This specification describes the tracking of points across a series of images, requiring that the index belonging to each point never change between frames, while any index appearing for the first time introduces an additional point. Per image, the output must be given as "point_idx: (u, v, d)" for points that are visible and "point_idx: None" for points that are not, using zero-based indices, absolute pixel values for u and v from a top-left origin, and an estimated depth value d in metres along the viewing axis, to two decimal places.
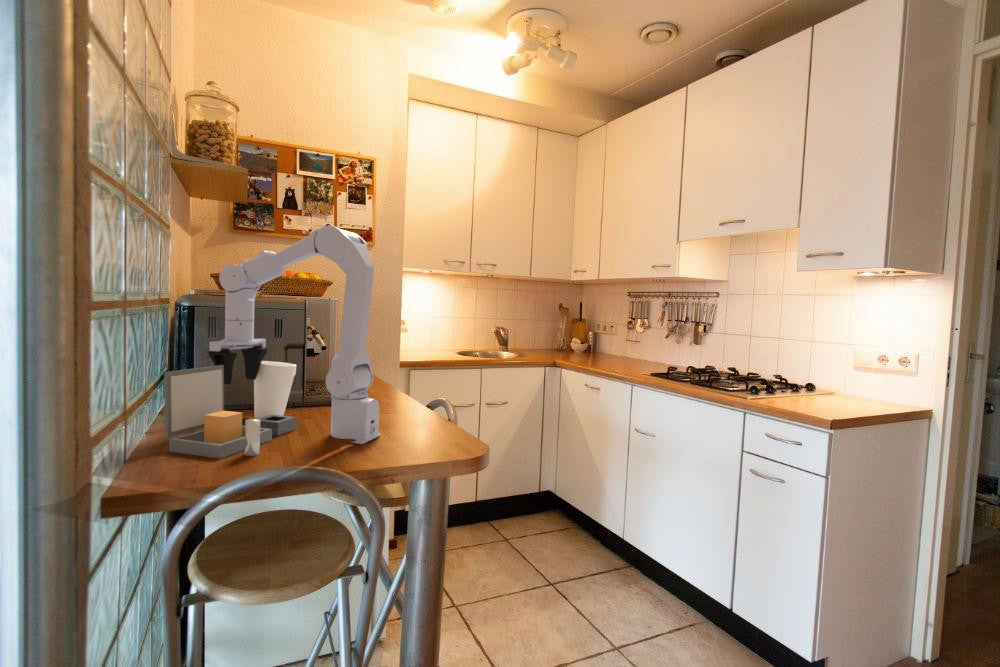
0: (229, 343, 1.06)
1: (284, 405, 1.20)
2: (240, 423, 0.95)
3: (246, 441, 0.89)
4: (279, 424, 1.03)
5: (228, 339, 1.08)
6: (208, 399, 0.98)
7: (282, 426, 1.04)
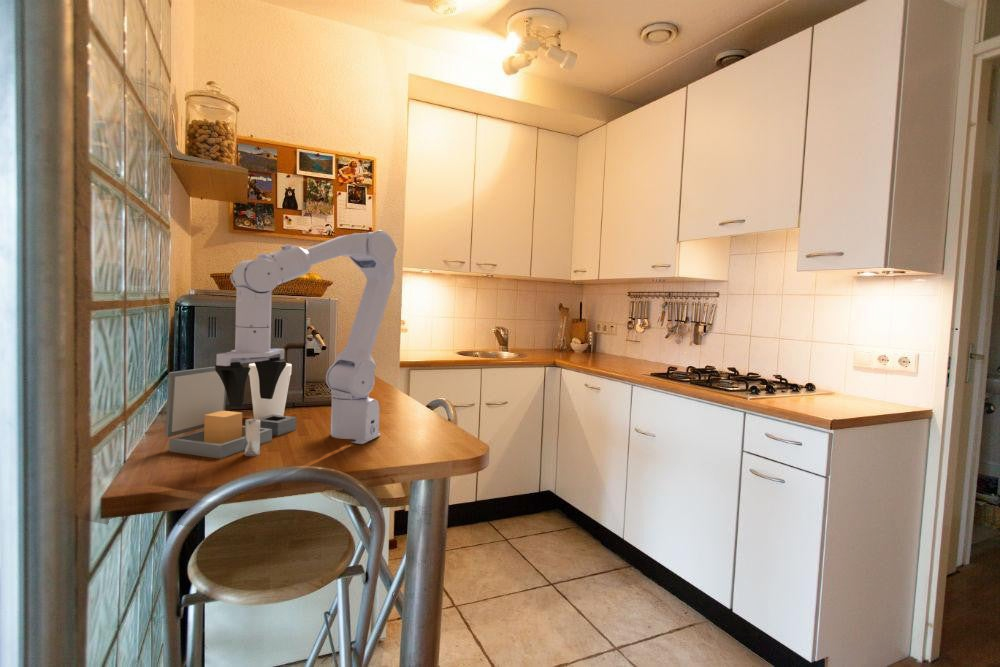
0: (241, 355, 0.86)
1: (283, 405, 1.20)
2: (240, 423, 0.95)
3: (246, 441, 0.89)
4: (279, 424, 1.03)
5: (239, 350, 0.88)
6: (210, 399, 0.97)
7: (282, 426, 1.04)
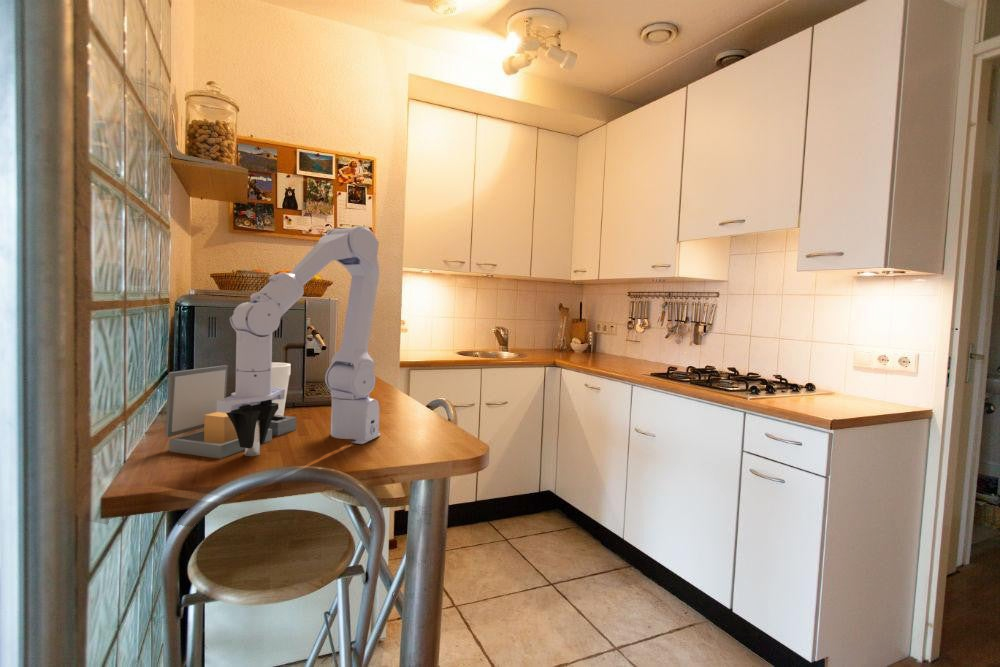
0: (241, 401, 0.85)
1: (282, 405, 1.20)
2: None
3: None
4: (279, 424, 1.03)
5: (240, 394, 0.87)
6: (210, 399, 0.97)
7: (282, 426, 1.04)
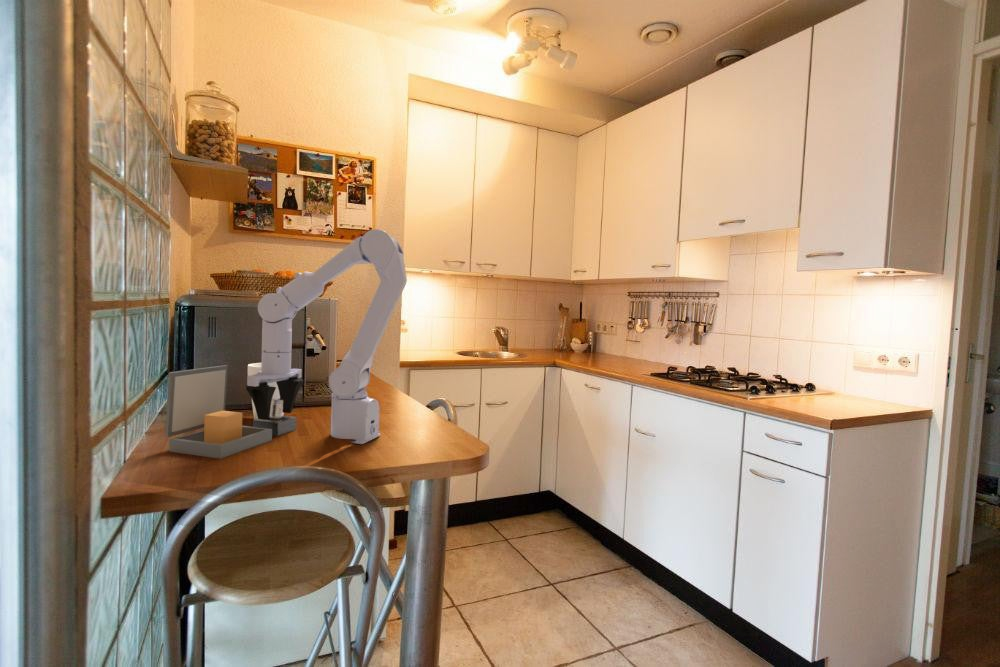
0: (267, 377, 1.01)
1: None
2: (240, 423, 0.95)
3: (270, 417, 1.05)
4: (279, 424, 1.03)
5: (265, 372, 1.03)
6: (210, 399, 0.97)
7: (282, 426, 1.04)
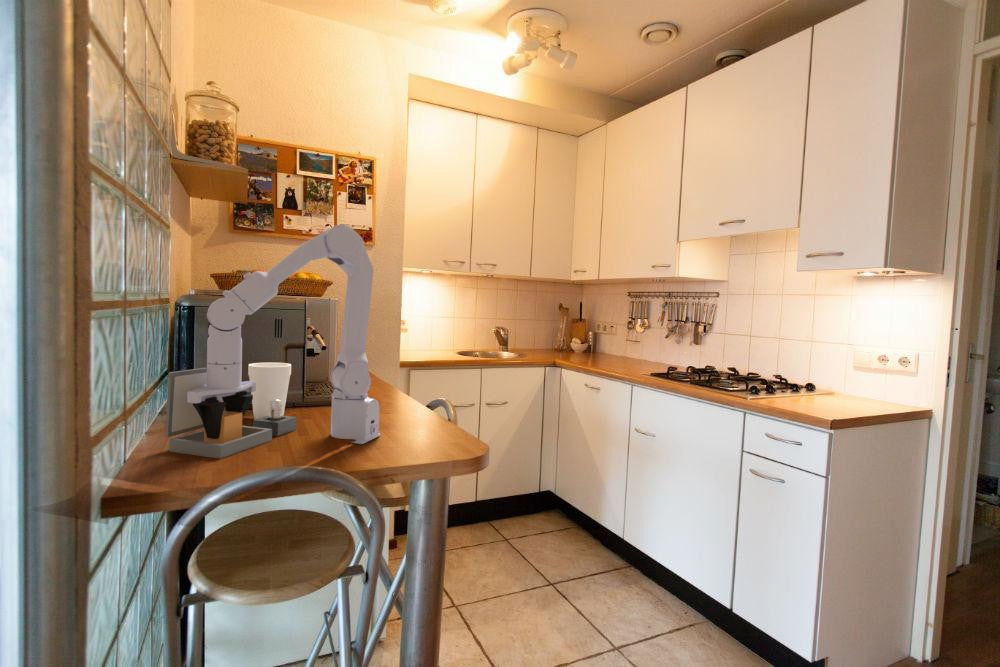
0: (211, 392, 0.89)
1: (283, 405, 1.20)
2: (240, 423, 0.95)
3: (270, 417, 1.05)
4: (279, 424, 1.03)
5: (210, 386, 0.91)
6: None
7: (282, 426, 1.04)
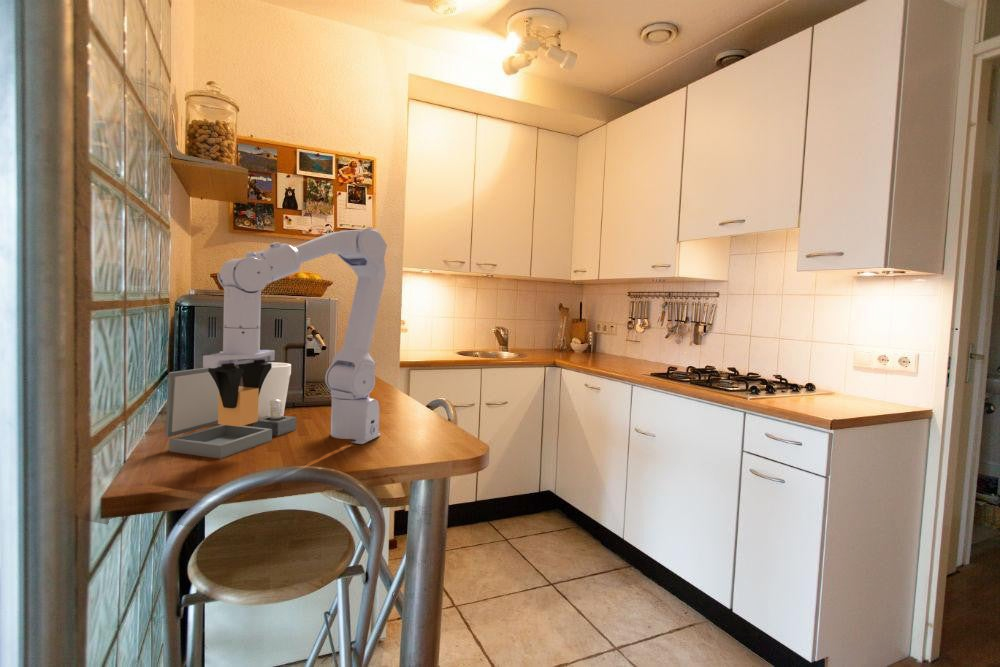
0: (228, 357, 0.83)
1: (283, 405, 1.20)
2: (256, 399, 0.89)
3: (270, 417, 1.05)
4: (279, 424, 1.03)
5: (227, 352, 0.85)
6: (210, 399, 0.97)
7: (282, 426, 1.04)
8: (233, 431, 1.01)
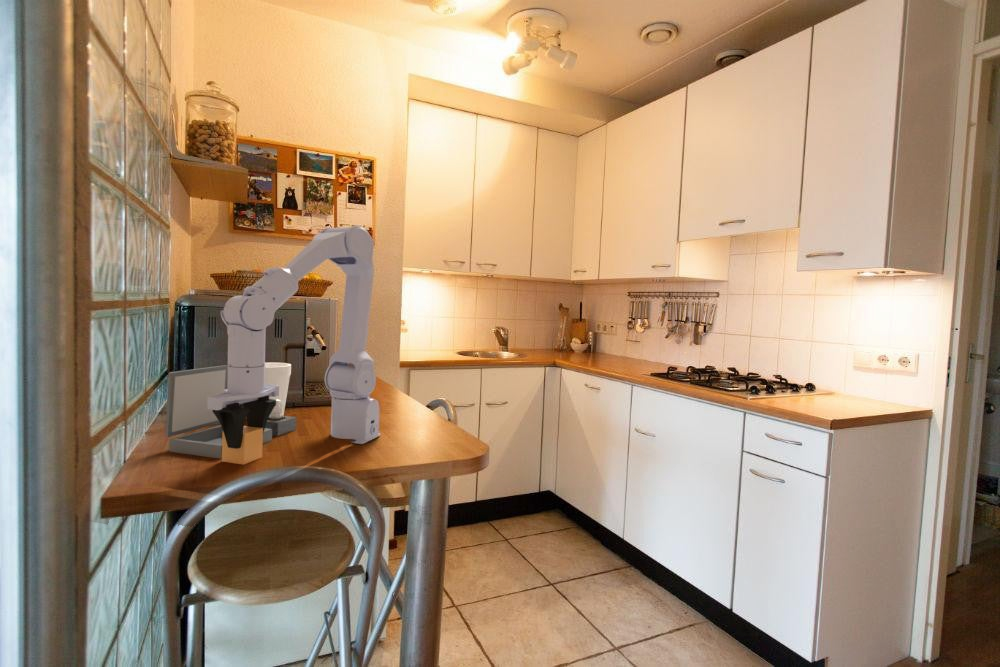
0: (233, 398, 0.81)
1: (283, 405, 1.20)
2: (260, 439, 0.88)
3: (270, 417, 1.05)
4: (279, 424, 1.03)
5: (232, 391, 0.84)
6: None
7: (282, 426, 1.04)
8: None
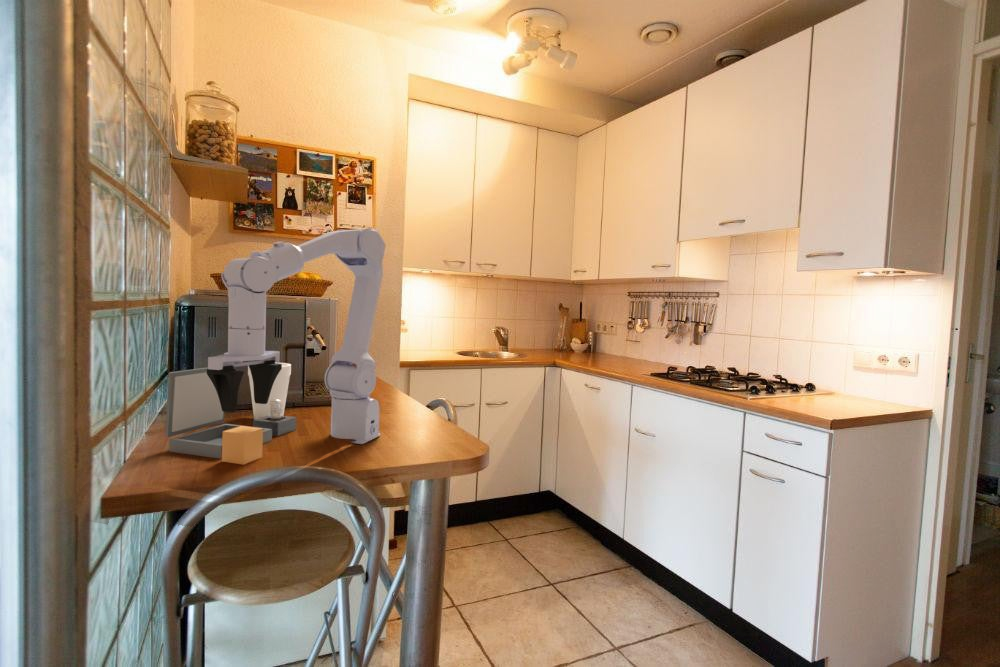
0: (234, 359, 0.81)
1: (283, 405, 1.20)
2: (261, 440, 0.88)
3: (270, 417, 1.05)
4: (279, 424, 1.03)
5: (232, 353, 0.83)
6: (210, 399, 0.97)
7: (282, 426, 1.04)
8: None
